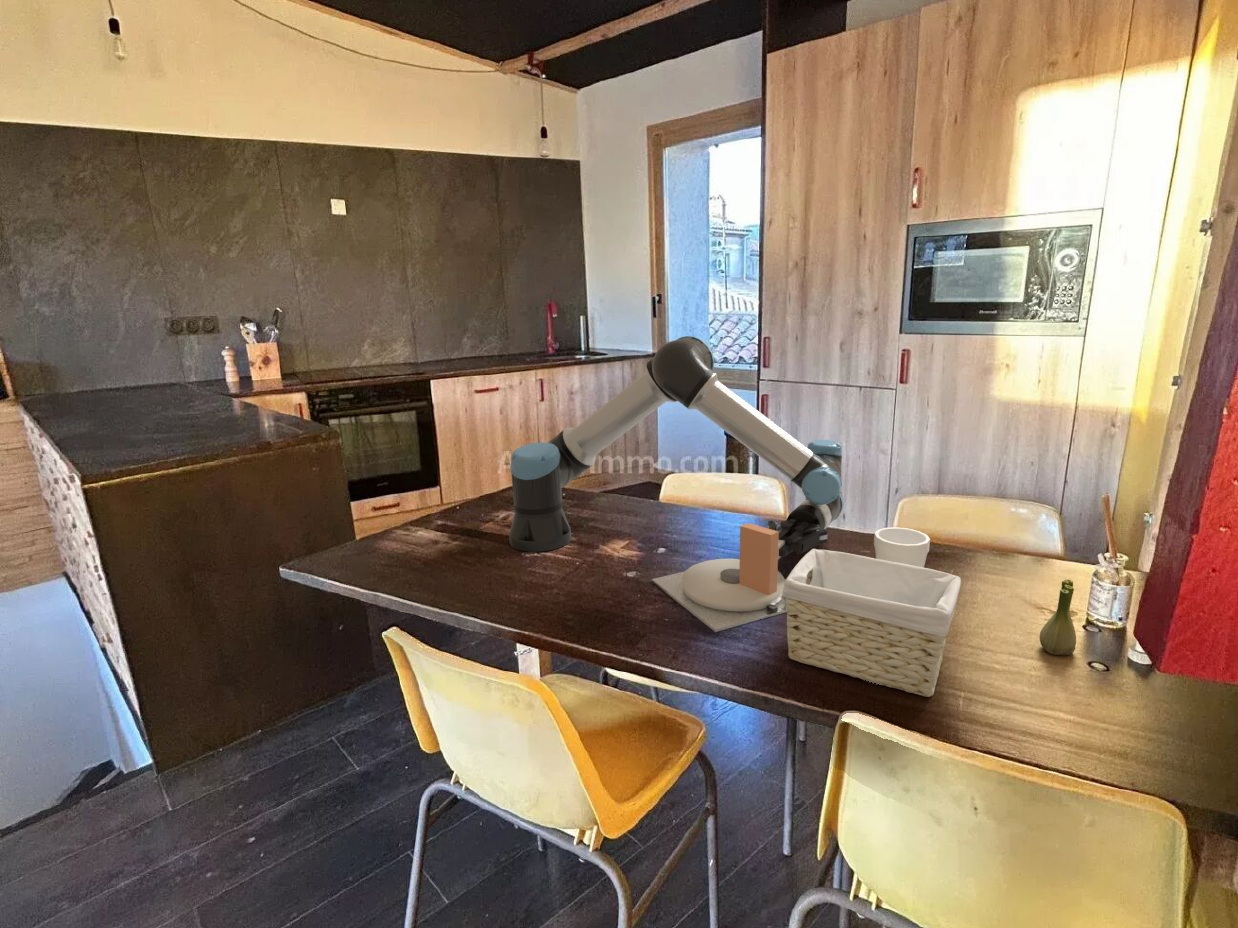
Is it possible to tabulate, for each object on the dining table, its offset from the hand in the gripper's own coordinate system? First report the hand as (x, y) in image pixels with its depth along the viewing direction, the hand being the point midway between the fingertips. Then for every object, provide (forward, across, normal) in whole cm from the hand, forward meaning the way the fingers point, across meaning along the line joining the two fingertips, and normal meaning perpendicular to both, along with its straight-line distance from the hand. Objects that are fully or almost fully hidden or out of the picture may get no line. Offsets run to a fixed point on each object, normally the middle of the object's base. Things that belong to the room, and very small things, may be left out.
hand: (768, 557), depth 124 cm
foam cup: (-12, -21, -9) cm, 26 cm away
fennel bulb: (-6, -46, -9) cm, 48 cm away
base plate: (0, +7, -9) cm, 12 cm away
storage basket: (+12, -21, -9) cm, 26 cm away
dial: (0, +7, -9) cm, 12 cm away
